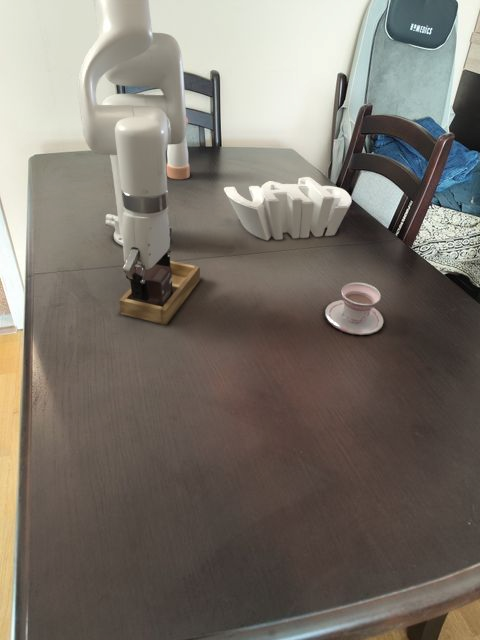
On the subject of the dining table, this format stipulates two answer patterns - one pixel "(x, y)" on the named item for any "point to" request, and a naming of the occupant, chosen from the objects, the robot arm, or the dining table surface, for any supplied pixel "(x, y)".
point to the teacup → (356, 310)
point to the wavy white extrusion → (291, 209)
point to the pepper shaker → (178, 160)
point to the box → (158, 284)
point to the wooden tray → (182, 286)
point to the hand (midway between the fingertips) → (152, 285)
